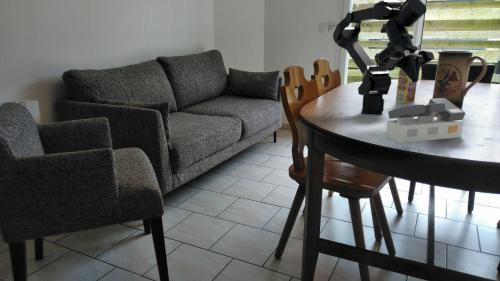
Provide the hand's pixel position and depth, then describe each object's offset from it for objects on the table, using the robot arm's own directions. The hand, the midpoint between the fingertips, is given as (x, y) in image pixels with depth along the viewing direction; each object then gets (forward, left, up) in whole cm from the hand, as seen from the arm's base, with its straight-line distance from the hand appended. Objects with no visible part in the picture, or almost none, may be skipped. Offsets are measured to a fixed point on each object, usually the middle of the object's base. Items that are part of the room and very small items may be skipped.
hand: (415, 82), depth 106 cm
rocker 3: (+6, -12, -5) cm, 15 cm away
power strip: (+1, -15, -12) cm, 20 cm away
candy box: (+3, +40, -13) cm, 42 cm away
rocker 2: (+1, -15, -5) cm, 16 cm away
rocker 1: (-4, -18, -5) cm, 20 cm away
